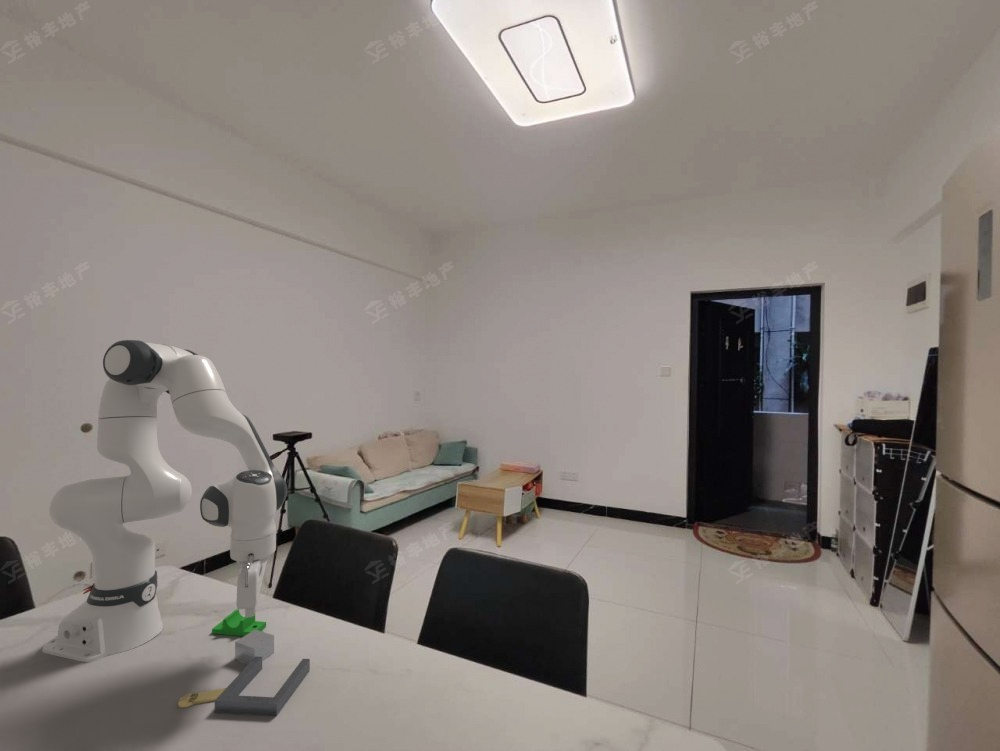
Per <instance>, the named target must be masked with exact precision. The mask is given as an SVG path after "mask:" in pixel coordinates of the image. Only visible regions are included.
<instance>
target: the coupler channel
mask: <svg viewBox="0 0 1000 751" xmlns="http://www.w3.org/2000/svg"><path fill="white" fill-rule="evenodd" d="M310 660H311V659H310V658H302V659H301V661H300V662H299V663H298V665H297V666H296V667H295V668H294V670H293V671H292V673H291V674H290V675H289V676H288V677H287V679H286V680H285V681H284V683H283V685H281V687H280V689H279V690H278V691H277V692H276V693H275V695H274V696H272V697H271V696H253V695H241V693H242V692H244V690H245V689H246V688H247V686H249V685H250V684H251V682H252V681H253V680H254V679H255V678H256V677H257V676H258V674H259V673H260V672H261V671H262V670H263V661H262V657H255V658H254V659H253V660H252V661H251V662H250V663H249V664H246V666H245V667H244V668H243V669H242V671H240V673H238V675H237V676H236V677H235V678H234V679H233V680H232V681H231V682H230V683H229V684H228V686H227V687H225V688H226V689H225V690H224V691H223V692H222V693H221V694H220V695H219V696H218V698H217V699H216V700H215V701H214V714H227V715H229V714H230V715H249V716H264V717H265V716H266V715H267V716H268V717H269V716H270V717H278V715H279V714H280V712H281V711H282V710H283V708H284V707H285V706H286V704H288V702H289V700H290V699H291V697H292V696H293V694H294V693H295V692H296V690H298V688H299V687H300V685H301V684H302V682H303V681H304V680H305V679H306V677H307V675H308V674H309V673H310V668H311V667H310V665H311V664H310V663H311V662H310Z"/></svg>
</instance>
